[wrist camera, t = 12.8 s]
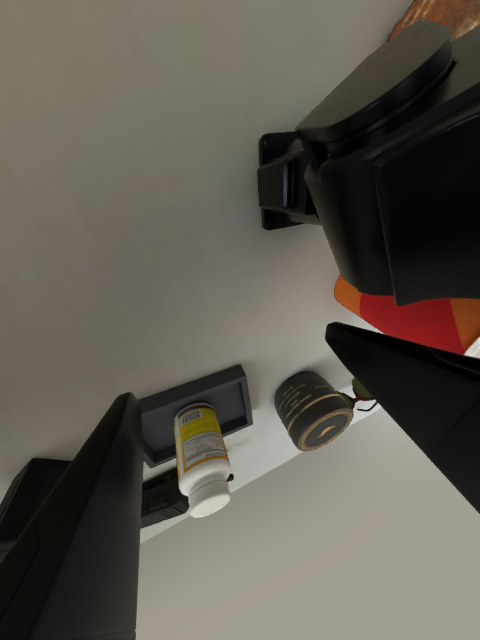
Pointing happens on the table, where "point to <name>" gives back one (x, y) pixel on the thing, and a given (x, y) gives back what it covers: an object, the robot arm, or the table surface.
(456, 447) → the robot arm
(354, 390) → the sunglasses
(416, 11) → the bell
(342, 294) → the coffee cup
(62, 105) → the table surface
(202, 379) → the tray
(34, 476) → the digital camera
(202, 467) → the supplement bottle
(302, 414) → the jar
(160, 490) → the walkie-talkie
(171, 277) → the table surface
